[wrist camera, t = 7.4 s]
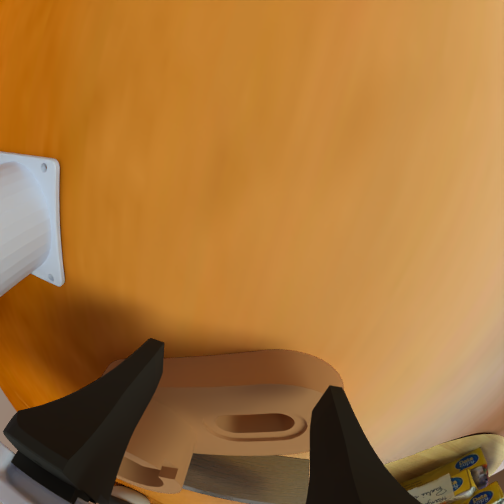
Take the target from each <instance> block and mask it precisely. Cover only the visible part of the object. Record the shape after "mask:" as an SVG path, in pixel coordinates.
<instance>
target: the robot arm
mask: <svg viewBox="0 0 504 504" xmlns="http://www.w3.org/2000/svg"><path fill="white" fill-rule="evenodd" d="M46 166H47V169H46ZM59 173H60V167H59V163H58V161H57V160H56V159H53V158H47V157H40V156H32V155H25V154H17V153H9V152H0V297H1V296H2V295H3V294H5V293H6V292H7V291H8V290H10V289H11V288H12V287H13V286H15V285H16V284H17V283H19V282H20V281H21V280H22V279H24V278H25V277H26V276H28V275H29V274H30V273H31V274H33V275H35V276H37V277H39V278H41V279H43V280H45V281H48V282H50V283H52V284H54V285H56V286H59V287H60V286H62V285H63V284H64V282H65V278H64V269H63V260H62V250H61V236H60V216H59ZM163 359H164V342H161V341H158V340H155V339H152V338H150V339H148V340H147V341H146V342H145V343H144V344H143V345H142V346H141V347H140V348H138V349H137V350H136V351H135V352H134V353H133V354H131V355H130V356H129V357H128V358H127V359H125V360H124V361H123V362H121V363H120V364H119V365H118V366H116V367H115V368H114V369H112V370H111V371H109V372H108V373H106V374H105V375H103V376H102V377H101V378H99V379H97V380H96V381H94V382H93V383H91V384H89V385H87V386H85V387H84V388H82V389H80V390H78V391H76V392H74V393H72V394H70V395H67V396H65V397H63V398H60V399H58V400H55V401H52V402H49V403H46V404H44V405H40V406H36V407H32V408H28V409H24V410H20V411H18V412H17V413H16V414H15V415H14V416H13V418H12V419H11V420H10V422H9V423H8V425H7V426H6V428H5V429H4V431H3V432H4V435H5V436H6V437H7V439H8V440H9V441H10V442H11V443H12V444H13V445H14V446H15V448H17V450H18V451H17V453H16V454H15V453H13V452H12V451H11V450H10V449H9V448H8V447H6V446H5V445H4V444H3V443H1V442H0V502H2V503H3V504H90V503H88V502H89V501H90V502H93V503H95V504H96V503H99V504H107V503H109V500H110V497H111V493H112V490H113V486H114V483H115V480H116V477H117V474H118V471H119V468H120V465H121V462H122V459H123V457H124V454H125V451H126V449H127V446H128V444H129V441H130V439H131V436H132V434H133V432H134V430H135V428H136V426H137V424H138V422H139V421H140V419H141V417H142V415H143V413H144V411H145V410H146V408H147V406H148V404H149V402H150V401H151V399H152V397H153V395H154V393H155V391H156V389H157V386H158V384H159V381H160V379H161V376H162V374H163ZM306 504H422V503H421V502H419V501H418V500H417V499H416V498H415V497H413V496H412V495H411V494H410V493H409V492H408V491H407V490H406V489H405V488H403V487H402V486H401V485H400V483H399V482H398V481H397V480H396V479H395V478H394V477H393V476H392V474H391V473H390V472H389V471H388V470H387V468H386V467H385V466H384V465H383V463H382V462H381V460H380V459H379V457H378V456H377V455H376V453H375V451H374V450H373V448H372V447H371V445H370V443H369V441H368V440H367V438H366V436H365V434H364V432H363V430H362V428H361V426H360V424H359V422H358V420H357V418H356V416H355V414H354V412H353V410H352V408H351V405H350V403H349V401H348V399H347V396H346V394H345V392H344V390H343V388H342V387H338V386H332V385H329V387H328V388H327V390H326V391H325V393H324V394H323V395H322V397H321V398H320V400H319V401H318V403H317V404H316V406H315V407H314V408H313V410H312V415H311V423H310V478H309V486H308V493H307V499H306Z"/></svg>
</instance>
